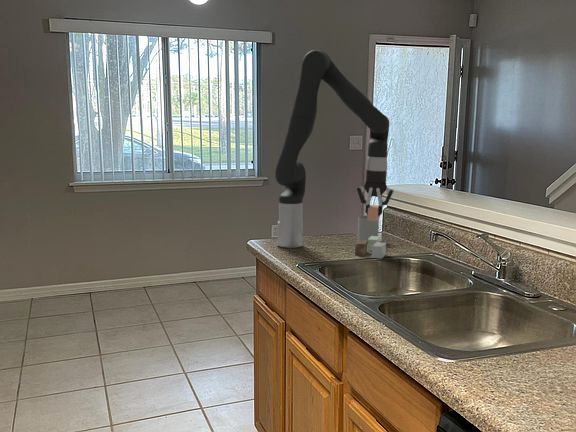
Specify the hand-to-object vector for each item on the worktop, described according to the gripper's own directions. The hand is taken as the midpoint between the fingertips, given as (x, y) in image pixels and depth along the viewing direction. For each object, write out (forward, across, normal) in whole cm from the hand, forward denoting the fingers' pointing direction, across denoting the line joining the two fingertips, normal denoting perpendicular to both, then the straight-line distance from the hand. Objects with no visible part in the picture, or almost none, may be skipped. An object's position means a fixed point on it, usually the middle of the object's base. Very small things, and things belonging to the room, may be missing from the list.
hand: (373, 215), depth 208 cm
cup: (+15, -5, +20) cm, 25 cm away
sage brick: (+14, 0, +6) cm, 16 cm away
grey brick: (+14, +4, -5) cm, 16 cm away
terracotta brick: (+1, 0, 0) cm, 1 cm away
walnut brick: (+14, -3, -3) cm, 15 cm away
